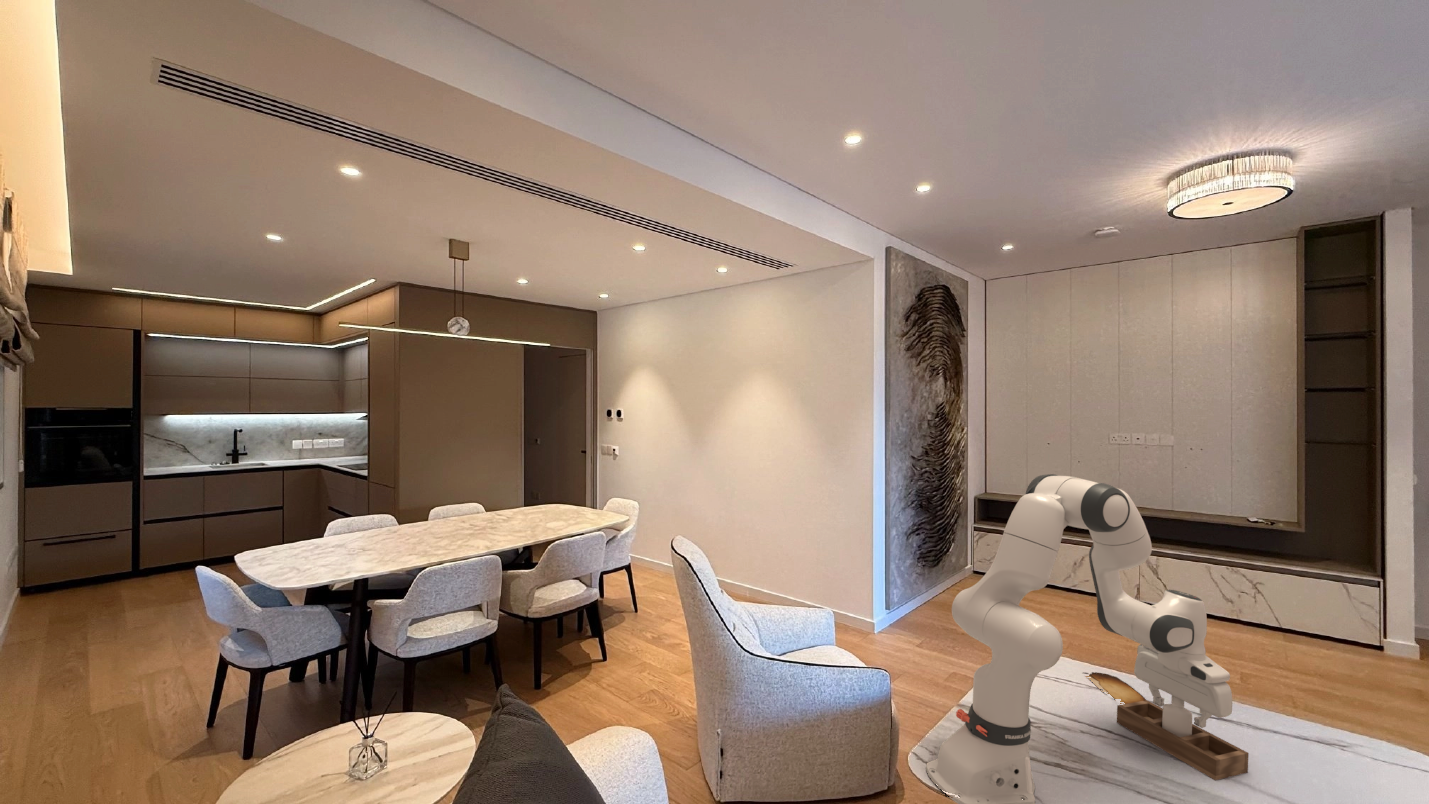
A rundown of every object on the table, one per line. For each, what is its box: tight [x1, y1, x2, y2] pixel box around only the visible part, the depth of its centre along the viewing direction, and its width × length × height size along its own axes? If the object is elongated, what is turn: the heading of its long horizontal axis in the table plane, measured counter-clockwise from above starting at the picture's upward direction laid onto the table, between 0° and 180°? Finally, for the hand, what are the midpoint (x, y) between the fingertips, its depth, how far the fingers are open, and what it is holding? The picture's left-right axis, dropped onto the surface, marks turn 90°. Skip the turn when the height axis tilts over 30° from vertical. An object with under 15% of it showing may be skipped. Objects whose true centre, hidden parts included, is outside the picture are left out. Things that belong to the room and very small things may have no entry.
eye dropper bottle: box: [1162, 695, 1193, 737], centre depth 139 cm, size 4×6×12 cm
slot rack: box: [1116, 699, 1250, 781], centre depth 139 cm, size 10×23×4 cm, turn 17°
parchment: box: [1082, 671, 1147, 705], centre depth 163 cm, size 25×10×1 cm, turn 173°
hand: (1178, 714), depth 139 cm, fingers open, 8 cm apart
